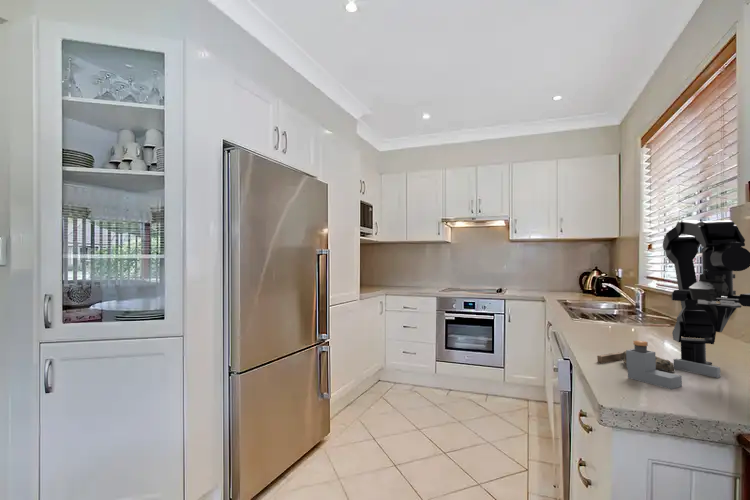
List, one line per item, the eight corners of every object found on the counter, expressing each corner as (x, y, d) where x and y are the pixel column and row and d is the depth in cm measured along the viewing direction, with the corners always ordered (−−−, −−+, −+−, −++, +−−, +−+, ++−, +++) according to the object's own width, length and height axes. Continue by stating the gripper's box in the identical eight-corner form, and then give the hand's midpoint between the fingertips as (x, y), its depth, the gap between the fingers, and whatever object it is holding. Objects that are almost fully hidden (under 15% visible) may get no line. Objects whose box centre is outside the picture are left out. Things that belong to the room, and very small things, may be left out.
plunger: (638, 362, 102) (637, 340, 102) (650, 365, 100) (650, 342, 100) (631, 363, 101) (630, 341, 101) (643, 366, 98) (643, 343, 98)
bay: (675, 367, 111) (675, 342, 111) (720, 377, 101) (719, 349, 102) (626, 377, 101) (626, 350, 101) (671, 389, 92) (670, 359, 92)
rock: (679, 376, 103) (678, 359, 103) (626, 372, 107) (626, 356, 107) (666, 365, 113) (666, 350, 113) (619, 362, 117) (618, 347, 117)
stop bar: (619, 358, 121) (618, 352, 121) (623, 359, 119) (623, 353, 119) (597, 362, 116) (597, 355, 116) (602, 363, 115) (601, 356, 115)
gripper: (658, 269, 105) (659, 328, 105) (747, 271, 88) (749, 341, 88) (683, 269, 110) (684, 325, 109) (772, 270, 93) (774, 337, 92)
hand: (718, 332), depth 99 cm, fingers closed
